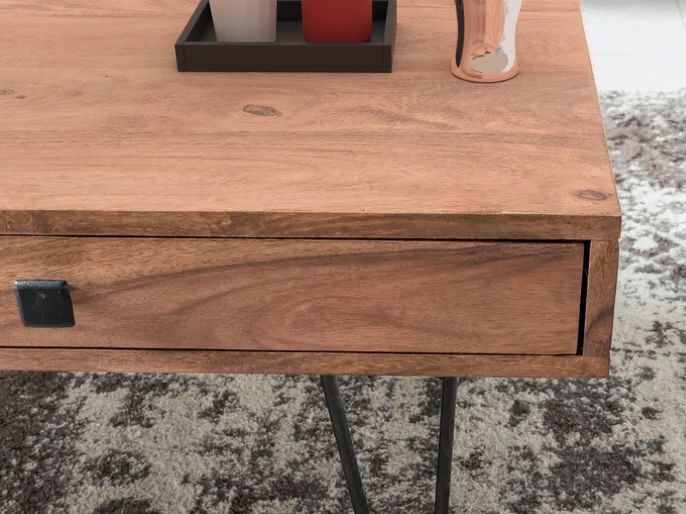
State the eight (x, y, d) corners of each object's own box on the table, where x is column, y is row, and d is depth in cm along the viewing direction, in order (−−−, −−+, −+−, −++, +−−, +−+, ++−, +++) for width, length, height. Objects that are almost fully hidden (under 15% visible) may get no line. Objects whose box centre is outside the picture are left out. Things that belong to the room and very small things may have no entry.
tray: (177, 71, 96) (174, 44, 95) (204, 22, 107) (201, -3, 106) (391, 72, 95) (391, 45, 93) (396, 22, 106) (396, -3, 104)
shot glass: (290, 30, 103) (286, -44, 99) (270, 55, 98) (265, -23, 93) (224, 27, 104) (217, -47, 100) (200, 50, 99) (192, -26, 95)
